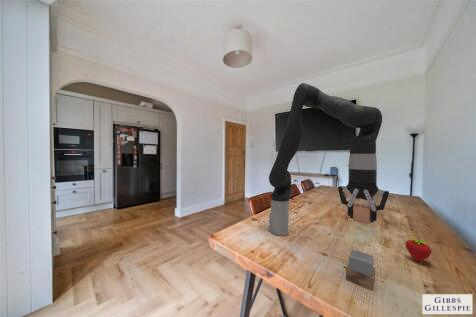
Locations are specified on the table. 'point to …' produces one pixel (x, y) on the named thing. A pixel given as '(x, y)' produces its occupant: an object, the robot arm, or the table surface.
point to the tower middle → (361, 262)
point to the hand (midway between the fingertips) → (361, 219)
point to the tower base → (360, 278)
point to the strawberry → (418, 249)
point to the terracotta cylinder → (362, 213)
